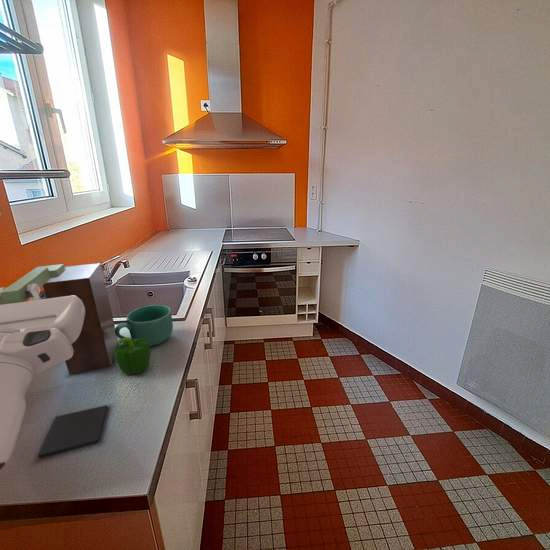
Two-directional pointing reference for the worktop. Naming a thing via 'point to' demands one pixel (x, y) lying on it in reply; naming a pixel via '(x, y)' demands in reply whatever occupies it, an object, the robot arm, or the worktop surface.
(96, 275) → the stand
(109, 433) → the worktop surface
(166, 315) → the mug
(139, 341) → the bell pepper
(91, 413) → the mat
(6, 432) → the robot arm
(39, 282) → the hammer
